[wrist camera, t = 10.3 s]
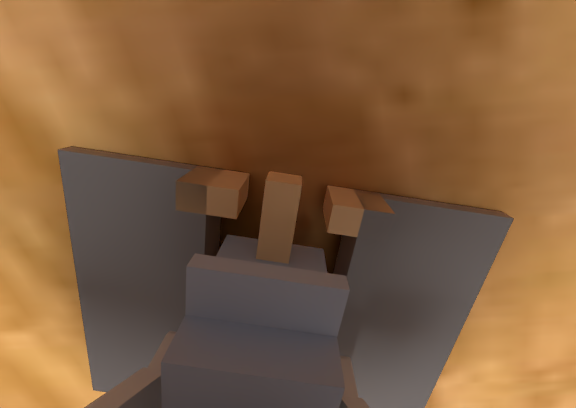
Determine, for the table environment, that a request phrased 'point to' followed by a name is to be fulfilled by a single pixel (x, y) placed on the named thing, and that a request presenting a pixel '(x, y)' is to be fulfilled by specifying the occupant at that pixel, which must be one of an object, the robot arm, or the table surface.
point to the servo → (259, 320)
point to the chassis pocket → (205, 240)
